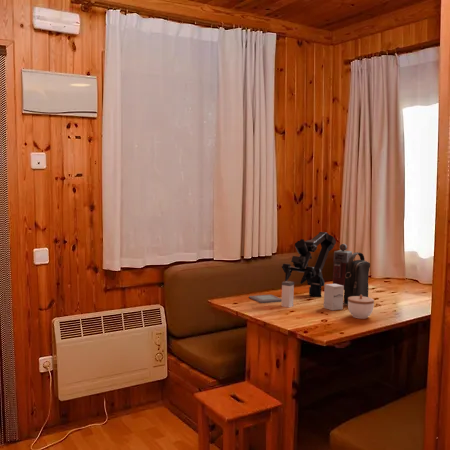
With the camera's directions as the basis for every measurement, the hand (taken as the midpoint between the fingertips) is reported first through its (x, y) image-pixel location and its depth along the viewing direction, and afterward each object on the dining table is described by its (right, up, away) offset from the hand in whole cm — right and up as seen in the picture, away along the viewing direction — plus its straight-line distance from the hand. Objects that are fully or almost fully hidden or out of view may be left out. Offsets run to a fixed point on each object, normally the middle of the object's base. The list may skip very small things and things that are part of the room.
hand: (293, 282), depth 282 cm
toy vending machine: (+36, -9, +48) cm, 61 cm away
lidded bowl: (+30, -15, -23) cm, 41 cm away
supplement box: (+20, -13, -7) cm, 25 cm away
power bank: (-4, -12, -4) cm, 13 cm away
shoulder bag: (+36, -12, +9) cm, 40 cm away
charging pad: (-14, -11, +11) cm, 21 cm away
